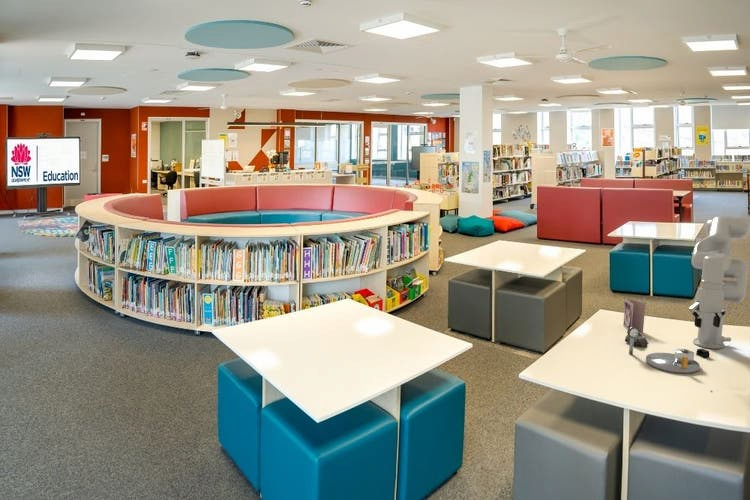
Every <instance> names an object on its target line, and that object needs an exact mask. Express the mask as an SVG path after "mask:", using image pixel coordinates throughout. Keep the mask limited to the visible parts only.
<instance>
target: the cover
mask: <svg viewBox="0 0 750 500" xmlns="http://www.w3.org/2000/svg"><path fill="white" fill-rule="evenodd" d="M674 354H675V359H674V360H675V361H676V362H679V363H682V356H686V357H688V364H693V361H694V359H695V352H694V351H692V350H689V349H686V348H677V349H675V351H674Z"/></svg>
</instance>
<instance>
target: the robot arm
mask: <svg viewBox="0 0 750 500" xmlns="http://www.w3.org/2000/svg"><path fill="white" fill-rule="evenodd" d="M749 235H750V220H749V219H748V218H747V217H744V216H731V215H729V216H728V215H720V216H719V215H718V216H715V217H714V218H713V219H709V220H707V221H706V223H705V236H706V237H705V238H703V239H701V240H700V241H699V242H697V243H696V244H695V246H694V248H693V252H692V257H691V265H692V267H693V268H695V269H698V270H702V271H701V281H700V287H698V288H697V290H696V294H695V299H694V302H693V305H691V306H690V307H689V309H688V310H689V311H690V312H691V314H692V315H693V317H694V326H695V327H697V328H698V331H697V337H696V338H694V339H693V340H692V341H693V342H692V343H693V344H694V345H696V346H698V347H702V348H705V349H706V348H707V349H712V350H720V349H724V348H725V343H724V342H731V341H732V338H731V337H730V336H729V337H725V336H722V335H723V326H724V318H725V314H726V313H727V312H728V311H729V310H730V309H729V307H728V306H727V305H726V304H724V303H725V302H728V303H741V302H743V301H744V300H745V297H746V293H747V284H748V282H747V281H748V274H749V273H748V272H749V265H748V262H747V261H746V260H744V259H740V258H733V257H732V258H731V254H732V253H731V251H732V248H731V245H730V244H731V240H732V239H739V240H741V239H743V240H744V239H747V238H748V237H749ZM724 279H728V280H724ZM729 279H730V280H729Z"/></svg>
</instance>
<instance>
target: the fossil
mask: <svg viewBox="0 0 750 500" xmlns="http://www.w3.org/2000/svg"><path fill="white" fill-rule="evenodd" d="M638 337H644V335H643V334H642V333H641V331H639V335H638ZM624 342H626V343H627V345H628V346H630V336H628V334H626V336H625V337H624ZM648 345H649V342H648V340H647V338H646V339H634V346H633V347H641V348H648Z"/></svg>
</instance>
